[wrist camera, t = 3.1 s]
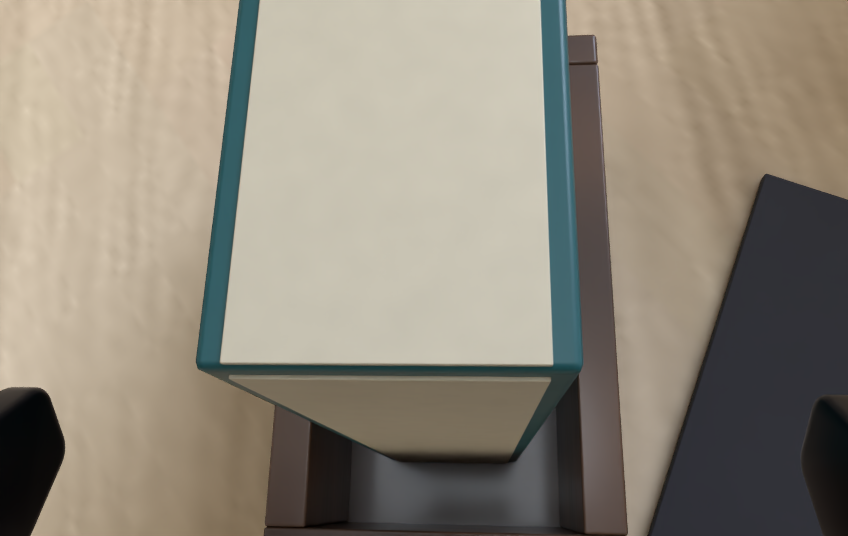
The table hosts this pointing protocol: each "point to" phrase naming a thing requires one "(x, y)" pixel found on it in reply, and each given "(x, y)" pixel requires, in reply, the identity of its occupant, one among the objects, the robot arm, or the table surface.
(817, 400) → the robot arm
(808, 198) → the felt pad
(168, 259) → the table surface
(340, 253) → the book
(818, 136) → the table surface
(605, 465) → the wooden box
